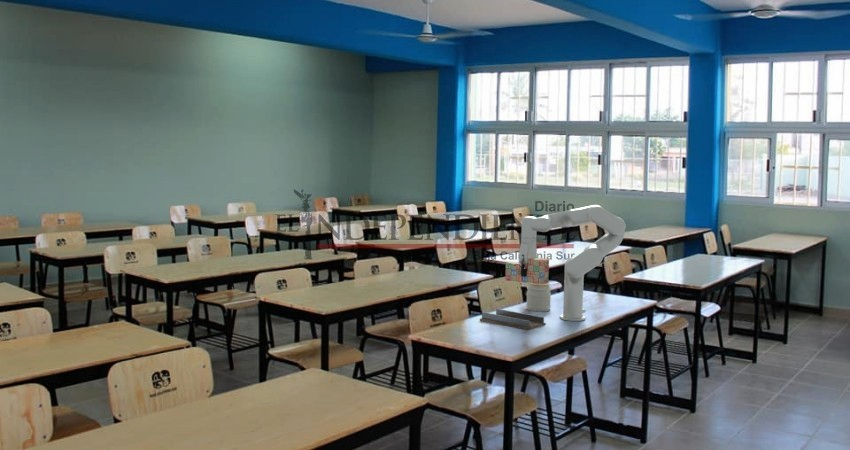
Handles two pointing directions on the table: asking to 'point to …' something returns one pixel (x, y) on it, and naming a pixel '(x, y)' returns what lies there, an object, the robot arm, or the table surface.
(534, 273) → the stack of blocks
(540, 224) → the robot arm
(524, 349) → the table surface
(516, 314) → the track
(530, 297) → the jar
